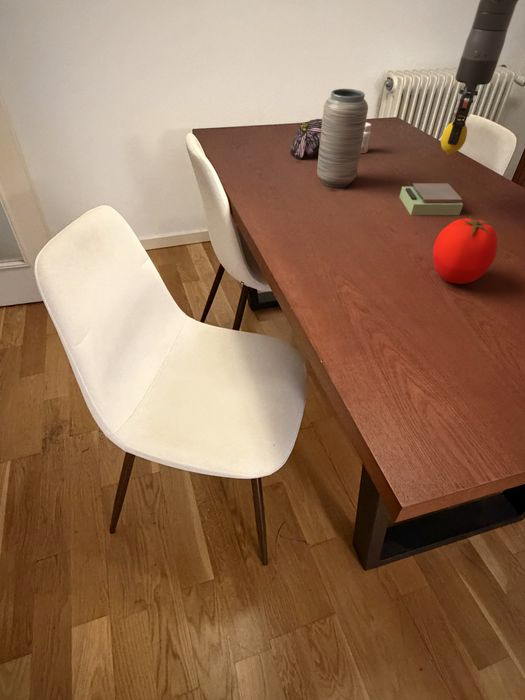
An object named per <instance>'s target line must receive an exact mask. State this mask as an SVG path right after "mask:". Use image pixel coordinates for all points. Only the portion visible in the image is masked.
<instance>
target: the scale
mask: <svg viewBox="0 0 525 700" xmlns="http://www.w3.org/2000/svg"><path fill="white" fill-rule="evenodd" d="M398 198H399V199H400V200H401V202H402V203H403V205H404V207H405V208H406V210H407V211H408V213H409V215H410V216H460V214H461V211H462V209H463V207H464V203H463V202H462V201H461V202H423V201H422V200H421V198H420V197H419V196H418V194H417V193H416V191H415V190H414V189H413V187H412V186H401V189H400V193H399V197H398Z"/></svg>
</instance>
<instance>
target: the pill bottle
mask: <svg viewBox="0 0 525 700" xmlns="http://www.w3.org/2000/svg"><path fill="white" fill-rule="evenodd" d="M371 129H372V123H370V122H366V124H365V129H364V135H363V140H362V146H361V152H360V154H365V153H368V150H369V146H370V140H371V134H372V131H371Z"/></svg>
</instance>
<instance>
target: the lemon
mask: <svg viewBox="0 0 525 700" xmlns="http://www.w3.org/2000/svg"><path fill="white" fill-rule="evenodd" d="M458 120H460V119H458ZM452 124H453V121H452V122H450V123H448V125H446V127H445V128H444V130H443V133H442V134H441V138H440V146H441V149H442V151H443V152H445V154H446V155H447V156H450V155H452V154H454V153H456V152H458V151H460V150H461V148H462V147H463V146H464V144H465V143H466V140H467V136H468V126H467V125H466V124H465V126H464V127H463V128H462V131H461V134H460V137H459V140H458V143H457V145H451V144H448V140H449V137H450V134H451V130H452V126H453V125H452Z"/></svg>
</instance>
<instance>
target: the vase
mask: <svg viewBox="0 0 525 700" xmlns="http://www.w3.org/2000/svg"><path fill="white" fill-rule="evenodd" d="M365 95H366V94H365V92H364V91H362V90H358V89H353V88H337V89H333V90H332V91H331V92H330V96H329V97H328V98H327V99H326V100H325V102H324V105H323V109H322V110H323V111H322V118H321V119H322V128H321V137H320V146H319V149H318V158H317V167H316V174H317V176H318V179H319V180H320V182H321V184H323V185H324V186H326V187H330V188H345V187H347V186H349V185H350V183H352V182H353V181H354V180H355V178H356V177H357V174H358V167H359V162H360V156H361V153H360V152H361V146H362V140H363V135H364V129H365V124H366V123H367V117H368V112H369V105H368V102H367V101H366V99H365V98H366V97H365Z"/></svg>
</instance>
